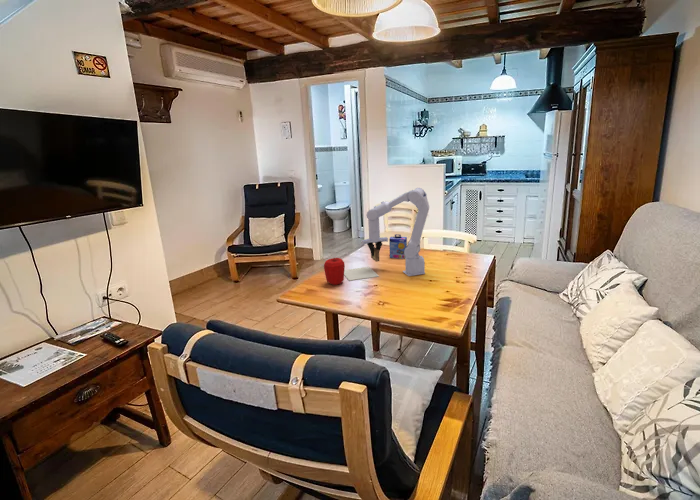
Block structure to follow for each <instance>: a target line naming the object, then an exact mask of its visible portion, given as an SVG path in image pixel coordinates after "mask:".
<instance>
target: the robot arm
mask: <svg viewBox="0 0 700 500" xmlns="http://www.w3.org/2000/svg"><path fill="white" fill-rule="evenodd" d="M404 202H406V203H408V202H410V203H411V204H413V205H414V206H415V207H416V209H417V214H416V219H415V221H414V225H413V228H412V232H411V235H410V236H411V237H410V239H409V241H408V242H407V247H406V248H405V250H404V254H405V261H404V262H405V264H404V265H405V270H402V272H403V274H405V275H406V276H407V277H412V276H418V275H425V274H426V272H425V271H426V269H425V262H426V261H425V258H424V256H423V255H420V254H419V253H420V252H421V238H422V235H423V232H424V228H425V224H426V221H427V217H428V213H429V210H430V204H429V201H428V195H427V193H426V191H425V190H424V189H423V188H421V187H416V188H414V190H413V189H412V190H408V191H405V192H404V193H402V194H401V195H399V196H397V197H396V198H393V199H392V200H391V201H386V200H385V201H381V202H380V204H378V205H377V206H376V205H374V206H373V208H371V209H369V210H368V211H367V212H366V218H367V219H368V220H367V221H368V238H366V239H362V240H360V244H361V245H367V247H368V248H369V251H370V256H371V255H372V256H374V247H375V248H377V249H378V250H379V252H380V250H381V248H382V246H383V243H385V242H388V241H389V238H388V237H387V236H385V237H380V236H381V233H380V217H382V216H384V215H386V214H388V213H390V212H392V209H393V207H396V206H397V205H399V204H401V203H404ZM374 244H375V245H374Z"/></svg>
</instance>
